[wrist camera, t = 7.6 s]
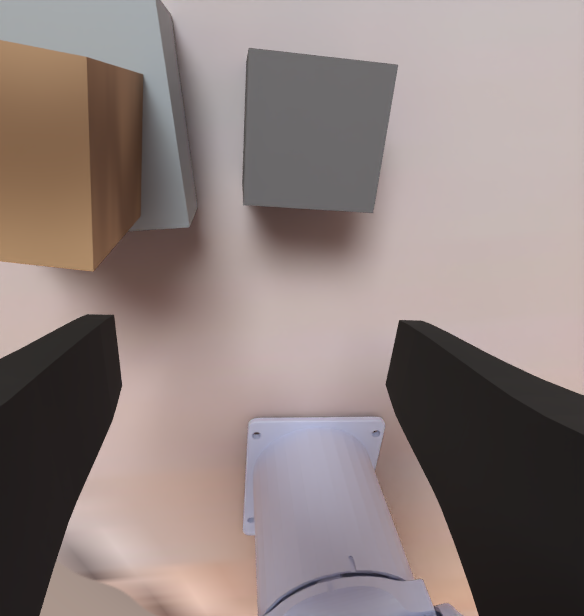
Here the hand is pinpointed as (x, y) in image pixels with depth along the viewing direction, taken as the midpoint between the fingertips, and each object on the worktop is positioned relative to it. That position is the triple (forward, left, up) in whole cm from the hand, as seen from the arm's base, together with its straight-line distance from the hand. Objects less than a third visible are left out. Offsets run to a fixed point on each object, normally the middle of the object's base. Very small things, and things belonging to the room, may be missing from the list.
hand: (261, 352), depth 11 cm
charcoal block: (+5, -2, -10) cm, 11 cm away
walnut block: (+4, +6, -6) cm, 10 cm away
